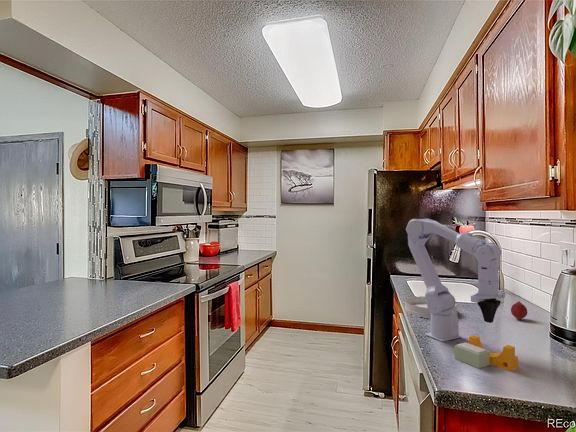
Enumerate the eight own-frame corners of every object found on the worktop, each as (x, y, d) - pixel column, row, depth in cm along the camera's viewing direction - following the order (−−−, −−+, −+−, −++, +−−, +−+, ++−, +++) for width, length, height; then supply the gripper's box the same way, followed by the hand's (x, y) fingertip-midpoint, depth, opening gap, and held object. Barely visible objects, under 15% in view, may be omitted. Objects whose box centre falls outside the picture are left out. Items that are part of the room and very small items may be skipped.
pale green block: (465, 355, 110) (465, 341, 110) (489, 365, 102) (489, 350, 102) (454, 358, 107) (454, 344, 107) (478, 368, 100) (478, 353, 100)
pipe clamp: (518, 367, 101) (517, 345, 101) (510, 371, 98) (510, 349, 98) (476, 354, 111) (476, 334, 111) (469, 357, 108) (468, 336, 108)
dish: (416, 321, 146) (415, 309, 146) (397, 307, 168) (397, 296, 168) (467, 319, 147) (467, 308, 147) (443, 306, 169) (442, 295, 169)
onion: (530, 322, 141) (530, 302, 141) (514, 321, 143) (514, 302, 143) (523, 318, 147) (523, 299, 147) (508, 317, 148) (508, 298, 148)
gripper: (485, 284, 106) (485, 328, 106) (514, 280, 112) (514, 321, 113) (464, 280, 113) (465, 322, 113) (493, 276, 119) (493, 316, 119)
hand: (488, 321), depth 113 cm, fingers closed
